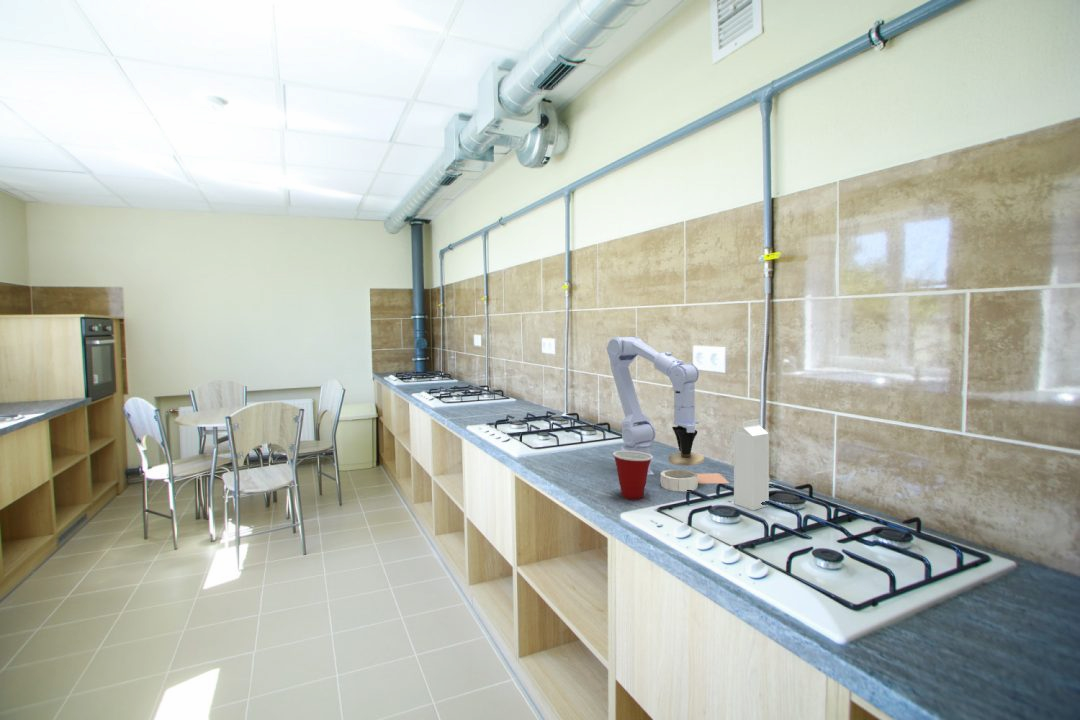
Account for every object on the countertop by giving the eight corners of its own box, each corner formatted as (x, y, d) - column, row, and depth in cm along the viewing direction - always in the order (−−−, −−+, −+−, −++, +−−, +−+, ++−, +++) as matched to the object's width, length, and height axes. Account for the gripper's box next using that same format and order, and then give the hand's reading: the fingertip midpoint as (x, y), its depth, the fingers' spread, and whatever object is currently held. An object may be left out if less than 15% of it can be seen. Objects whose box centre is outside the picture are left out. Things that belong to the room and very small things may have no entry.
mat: (694, 485, 149) (694, 483, 149) (686, 475, 159) (686, 473, 158) (729, 485, 148) (729, 483, 148) (719, 475, 158) (719, 473, 158)
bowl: (665, 493, 142) (664, 479, 142) (658, 482, 152) (658, 469, 152) (701, 493, 142) (701, 478, 141) (692, 482, 152) (692, 469, 151)
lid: (674, 466, 143) (672, 448, 142) (664, 458, 153) (663, 440, 152) (709, 463, 143) (708, 445, 143) (697, 455, 153) (696, 437, 153)
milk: (733, 504, 132) (732, 420, 131) (749, 499, 135) (748, 417, 134) (753, 511, 127) (752, 423, 126) (769, 506, 130) (768, 420, 129)
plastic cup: (660, 500, 137) (660, 456, 136) (623, 504, 134) (623, 459, 133) (642, 488, 147) (641, 447, 146) (607, 492, 144) (606, 450, 144)
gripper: (705, 409, 139) (706, 458, 140) (691, 402, 154) (692, 446, 155) (679, 410, 140) (680, 459, 140) (668, 402, 154) (668, 447, 155)
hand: (684, 452), depth 148 cm, fingers closed on lid, 3 cm apart
